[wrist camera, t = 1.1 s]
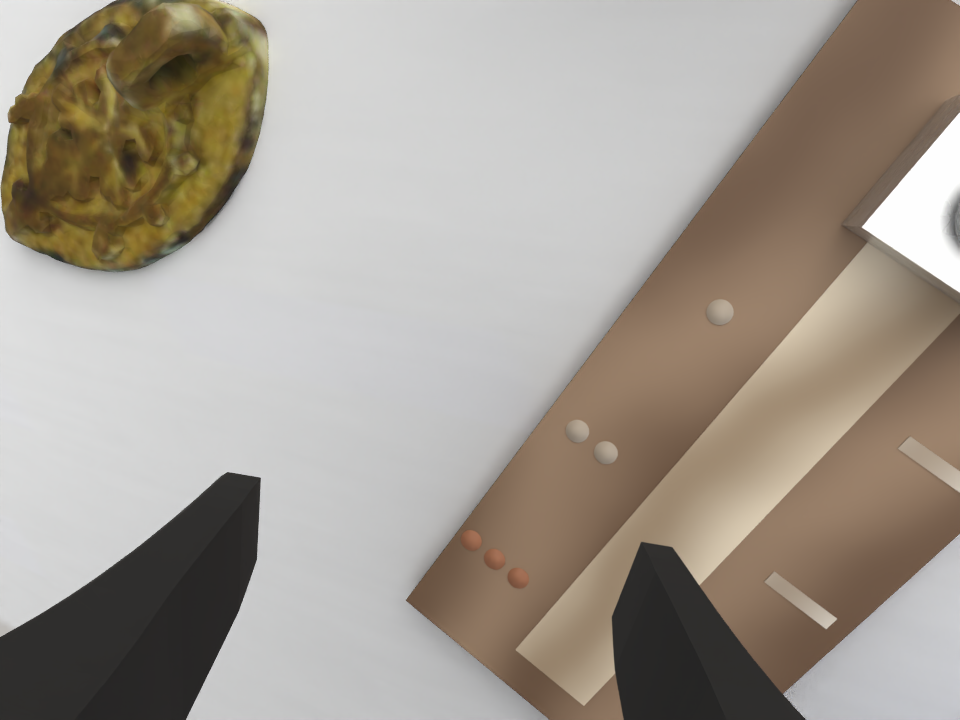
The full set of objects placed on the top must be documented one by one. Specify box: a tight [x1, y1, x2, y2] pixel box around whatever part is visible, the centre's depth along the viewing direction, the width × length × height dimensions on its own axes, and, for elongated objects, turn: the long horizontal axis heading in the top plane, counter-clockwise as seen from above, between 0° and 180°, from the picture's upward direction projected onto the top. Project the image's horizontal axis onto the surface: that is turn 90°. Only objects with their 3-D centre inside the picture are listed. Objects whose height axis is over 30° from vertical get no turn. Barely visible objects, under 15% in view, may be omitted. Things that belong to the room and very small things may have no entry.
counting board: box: [406, 0, 960, 720], centre depth 23 cm, size 12×26×1 cm, turn 146°
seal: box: [1, 0, 268, 272], centre depth 27 cm, size 9×5×15 cm
